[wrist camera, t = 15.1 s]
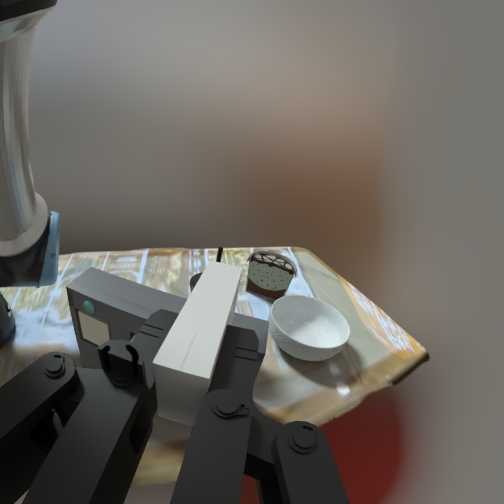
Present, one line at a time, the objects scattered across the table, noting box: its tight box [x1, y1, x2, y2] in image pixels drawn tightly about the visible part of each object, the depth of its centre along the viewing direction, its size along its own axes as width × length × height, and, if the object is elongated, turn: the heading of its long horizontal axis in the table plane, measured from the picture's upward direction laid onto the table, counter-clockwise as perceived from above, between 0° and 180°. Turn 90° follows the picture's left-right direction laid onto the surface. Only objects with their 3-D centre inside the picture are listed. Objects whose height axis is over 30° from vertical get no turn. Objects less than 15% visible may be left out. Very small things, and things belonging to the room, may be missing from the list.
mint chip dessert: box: [246, 251, 297, 301], centre depth 69 cm, size 12×6×10 cm, turn 75°
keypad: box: [66, 267, 269, 382], centre depth 34 cm, size 6×26×16 cm, turn 82°
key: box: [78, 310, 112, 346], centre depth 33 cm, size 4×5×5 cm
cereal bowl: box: [268, 295, 350, 361], centre depth 53 cm, size 17×17×7 cm
